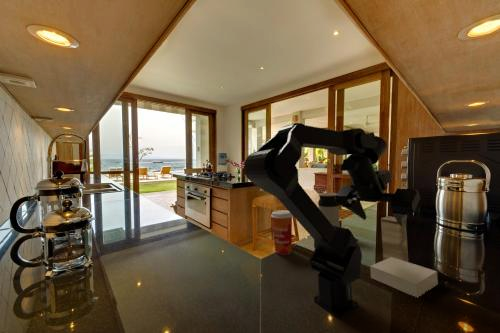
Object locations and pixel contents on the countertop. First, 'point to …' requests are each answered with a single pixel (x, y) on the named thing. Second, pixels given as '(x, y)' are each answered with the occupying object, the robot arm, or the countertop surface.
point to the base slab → (404, 276)
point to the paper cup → (282, 231)
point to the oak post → (394, 239)
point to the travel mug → (329, 207)
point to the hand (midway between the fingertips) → (382, 221)
